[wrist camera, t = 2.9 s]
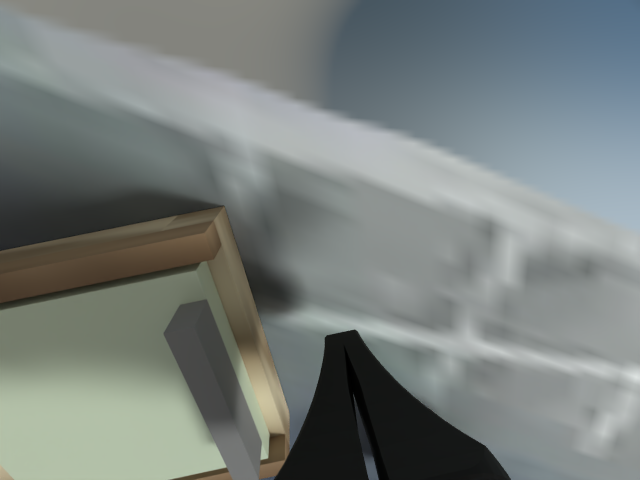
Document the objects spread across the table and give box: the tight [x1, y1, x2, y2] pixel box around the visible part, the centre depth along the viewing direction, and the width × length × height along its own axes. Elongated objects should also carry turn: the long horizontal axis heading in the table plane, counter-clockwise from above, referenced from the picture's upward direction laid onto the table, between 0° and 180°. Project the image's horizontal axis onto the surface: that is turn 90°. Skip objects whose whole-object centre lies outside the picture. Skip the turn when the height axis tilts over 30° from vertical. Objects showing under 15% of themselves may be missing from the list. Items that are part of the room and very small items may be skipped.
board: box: [0, 206, 289, 480], centre depth 14 cm, size 13×24×3 cm, turn 100°
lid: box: [0, 261, 270, 480], centre depth 12 cm, size 10×11×3 cm
